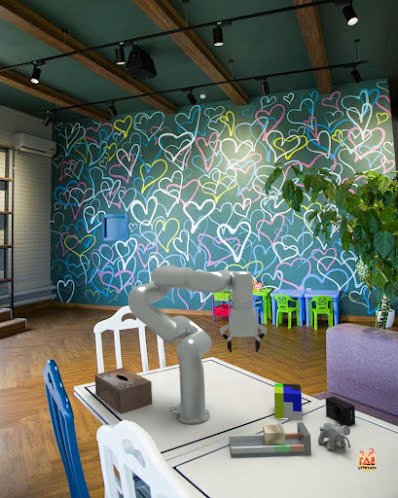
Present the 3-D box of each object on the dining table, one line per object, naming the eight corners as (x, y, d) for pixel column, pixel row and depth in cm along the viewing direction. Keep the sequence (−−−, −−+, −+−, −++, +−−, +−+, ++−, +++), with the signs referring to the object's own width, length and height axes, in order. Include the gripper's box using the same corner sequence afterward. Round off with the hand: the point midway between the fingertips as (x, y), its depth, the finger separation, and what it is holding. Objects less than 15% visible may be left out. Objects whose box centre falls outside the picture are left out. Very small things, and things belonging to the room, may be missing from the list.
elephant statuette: (330, 437, 133) (328, 415, 133) (363, 449, 123) (361, 425, 124) (314, 447, 127) (311, 424, 127) (347, 460, 118) (345, 435, 118)
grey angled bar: (304, 451, 122) (304, 435, 122) (297, 437, 131) (297, 422, 131) (311, 451, 122) (310, 435, 122) (303, 436, 131) (303, 422, 131)
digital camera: (323, 416, 148) (322, 398, 148) (334, 413, 150) (333, 395, 150) (344, 428, 139) (343, 408, 139) (355, 424, 141) (354, 405, 141)
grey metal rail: (231, 457, 122) (231, 448, 122) (229, 442, 131) (229, 434, 131) (311, 454, 122) (310, 446, 122) (303, 440, 131) (303, 432, 131)
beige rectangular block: (267, 451, 122) (266, 433, 122) (262, 437, 131) (262, 421, 131) (286, 450, 122) (285, 433, 122) (280, 437, 131) (279, 420, 131)
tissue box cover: (95, 396, 177) (94, 374, 177) (124, 388, 186) (123, 367, 186) (121, 414, 157) (120, 390, 156) (152, 404, 165) (151, 381, 165)
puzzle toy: (302, 420, 146) (301, 394, 145) (275, 419, 148) (274, 392, 147) (300, 409, 155) (300, 384, 155) (275, 408, 157) (274, 383, 157)
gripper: (219, 307, 138) (220, 354, 139) (267, 306, 138) (268, 354, 138) (218, 303, 146) (219, 348, 146) (264, 302, 145) (265, 348, 146)
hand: (243, 351), depth 142 cm, fingers open, 9 cm apart
